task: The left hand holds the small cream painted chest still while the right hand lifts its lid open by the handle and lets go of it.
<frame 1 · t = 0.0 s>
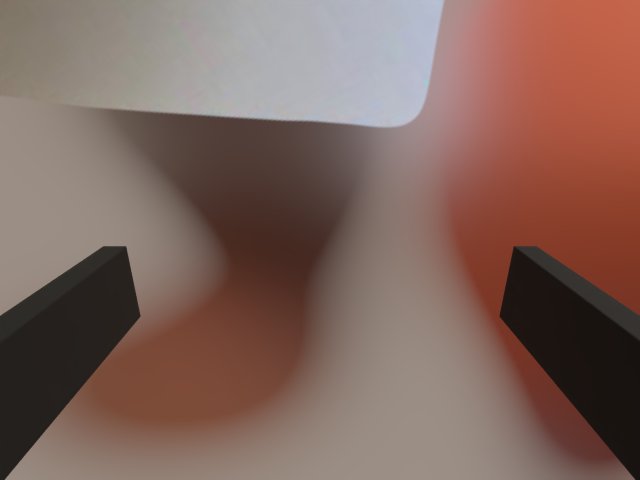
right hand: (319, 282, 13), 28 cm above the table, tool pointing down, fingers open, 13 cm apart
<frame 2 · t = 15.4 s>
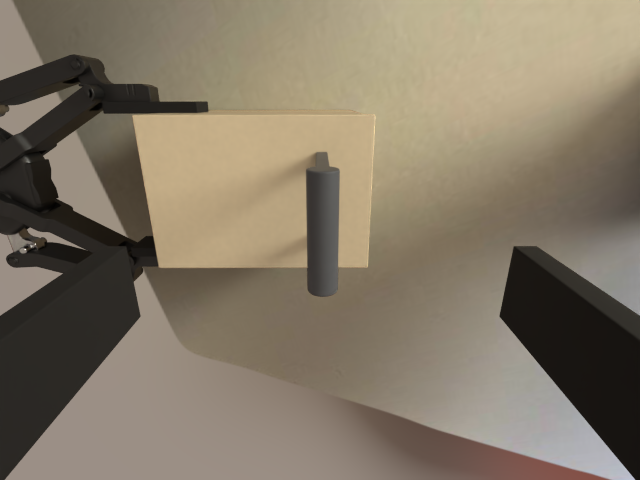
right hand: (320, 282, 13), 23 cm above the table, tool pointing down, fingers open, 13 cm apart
left hand: (210, 181, 28), fingers closed on chest, 10 cm apart
chest: (275, 167, 34), on the table, touching left hand
lid: (249, 212, 21), point 15 cm above the table, hinge at 0.0°
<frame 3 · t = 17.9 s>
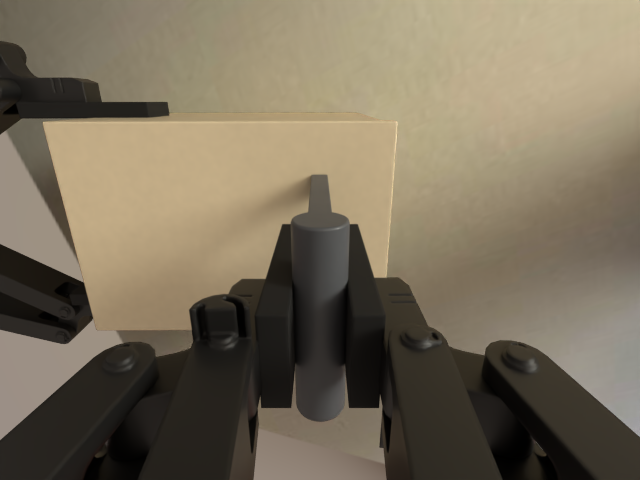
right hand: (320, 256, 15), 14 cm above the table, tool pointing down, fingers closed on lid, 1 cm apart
chest: (261, 183, 28), on the table, touching left hand
lid: (210, 269, 14), point 15 cm above the table, hinge at 0.0°, touching right hand
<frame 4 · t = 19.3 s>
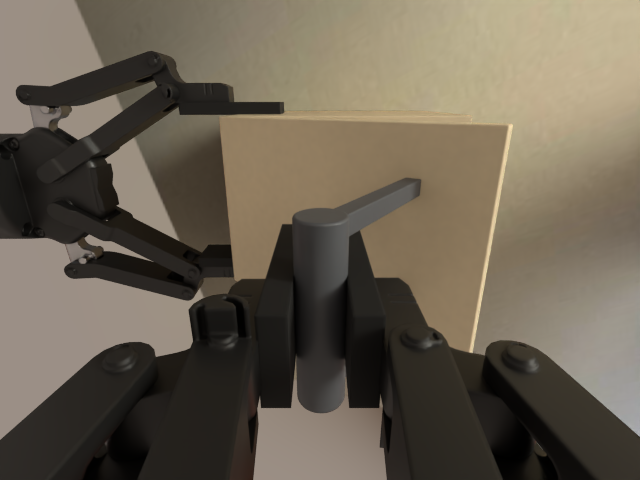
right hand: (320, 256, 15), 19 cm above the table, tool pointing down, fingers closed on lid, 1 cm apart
left hand: (284, 187, 27), fingers closed on chest, 10 cm apart
chest: (339, 171, 33), on the table, touching left hand
lid: (286, 248, 16), point 18 cm above the table, hinge at 33.9°, touching right hand
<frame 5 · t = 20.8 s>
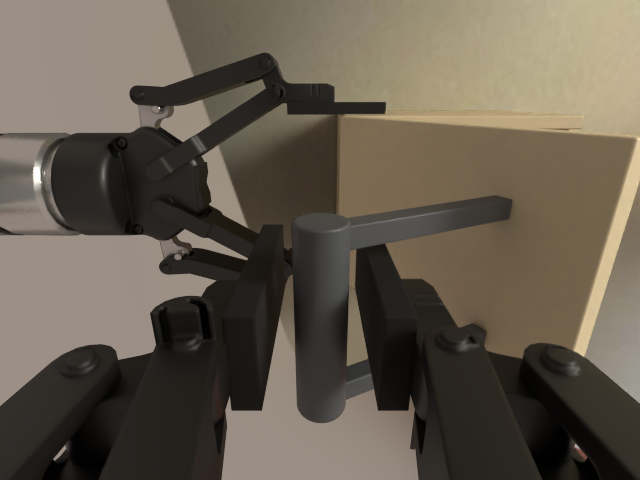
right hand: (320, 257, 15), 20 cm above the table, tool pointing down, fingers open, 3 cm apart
left hand: (377, 184, 27), fingers closed on chest, 10 cm apart
chest: (414, 169, 33), on the table, touching left hand
lid: (351, 251, 15), point 19 cm above the table, hinge at 63.8°
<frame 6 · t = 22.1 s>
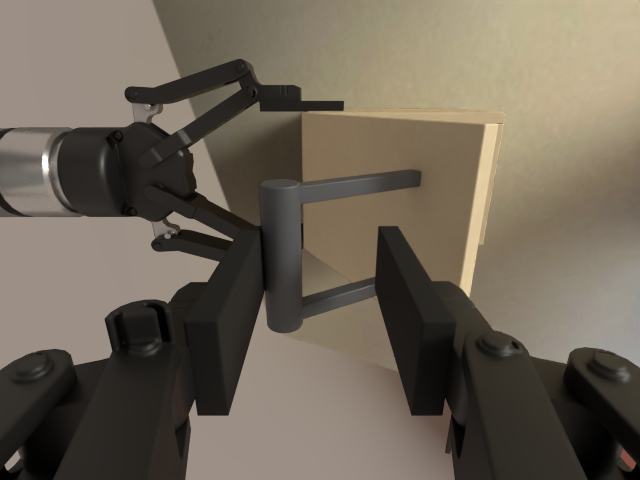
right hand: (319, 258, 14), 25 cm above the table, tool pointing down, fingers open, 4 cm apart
left hand: (341, 172, 31), fingers closed on chest, 10 cm apart
chest: (378, 161, 38), on the table, touching left hand
lid: (309, 218, 19), point 19 cm above the table, hinge at 60.2°
when the left hand's fingers open (6 cm above the table, at t = 25.2 s): chest stays where it is, on the table.
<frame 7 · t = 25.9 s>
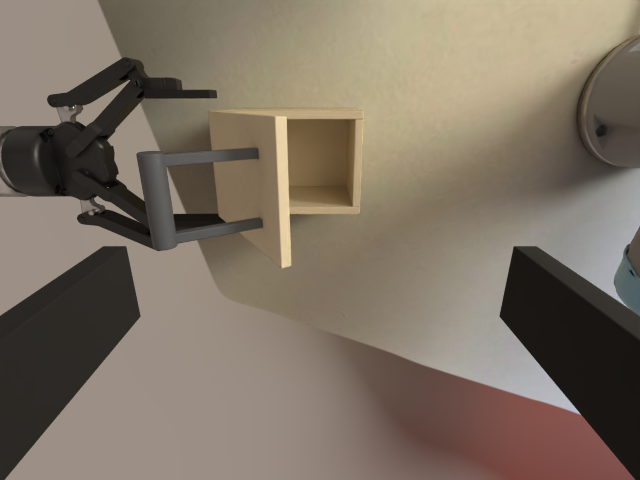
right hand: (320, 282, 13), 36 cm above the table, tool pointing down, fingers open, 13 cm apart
left hand: (220, 161, 40), fingers open, 13 cm apart
chest: (296, 151, 46), on the table
lid: (197, 183, 28), point 19 cm above the table, hinge at 58.6°
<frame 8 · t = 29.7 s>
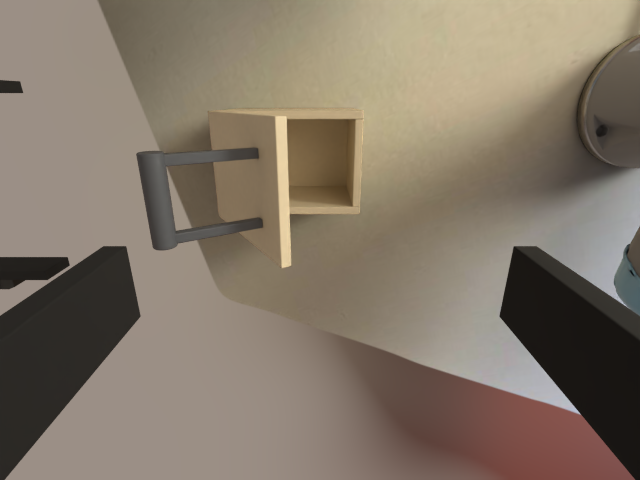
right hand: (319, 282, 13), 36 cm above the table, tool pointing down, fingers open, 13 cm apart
chest: (296, 151, 46), on the table
lid: (197, 183, 28), point 19 cm above the table, hinge at 58.6°
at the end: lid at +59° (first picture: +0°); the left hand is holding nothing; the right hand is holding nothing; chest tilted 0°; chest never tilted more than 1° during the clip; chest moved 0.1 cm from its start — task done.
